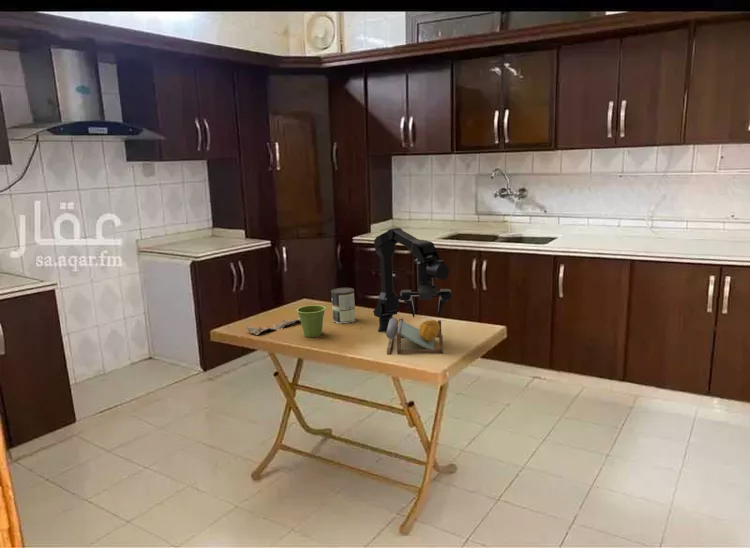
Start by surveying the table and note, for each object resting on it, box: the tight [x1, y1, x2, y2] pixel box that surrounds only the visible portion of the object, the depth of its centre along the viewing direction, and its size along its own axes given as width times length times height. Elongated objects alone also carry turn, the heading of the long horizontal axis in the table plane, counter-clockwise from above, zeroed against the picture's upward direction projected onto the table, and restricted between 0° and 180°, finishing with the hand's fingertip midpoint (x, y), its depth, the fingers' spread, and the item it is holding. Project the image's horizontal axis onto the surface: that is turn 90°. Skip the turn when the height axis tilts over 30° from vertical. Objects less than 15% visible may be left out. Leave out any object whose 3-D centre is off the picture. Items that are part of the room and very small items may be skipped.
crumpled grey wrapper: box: [245, 317, 301, 336], centre depth 243 cm, size 34×10×3 cm, turn 139°
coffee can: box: [330, 287, 356, 324], centre depth 244 cm, size 10×10×14 cm
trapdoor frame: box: [386, 318, 444, 355], centre depth 206 cm, size 20×20×8 cm
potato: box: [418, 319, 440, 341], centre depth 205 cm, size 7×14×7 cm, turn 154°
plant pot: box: [296, 304, 326, 338], centre depth 225 cm, size 12×12×11 cm
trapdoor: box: [385, 317, 435, 349], centre depth 207 cm, size 16×18×4 cm
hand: (426, 316), depth 205 cm, fingers open, 9 cm apart
